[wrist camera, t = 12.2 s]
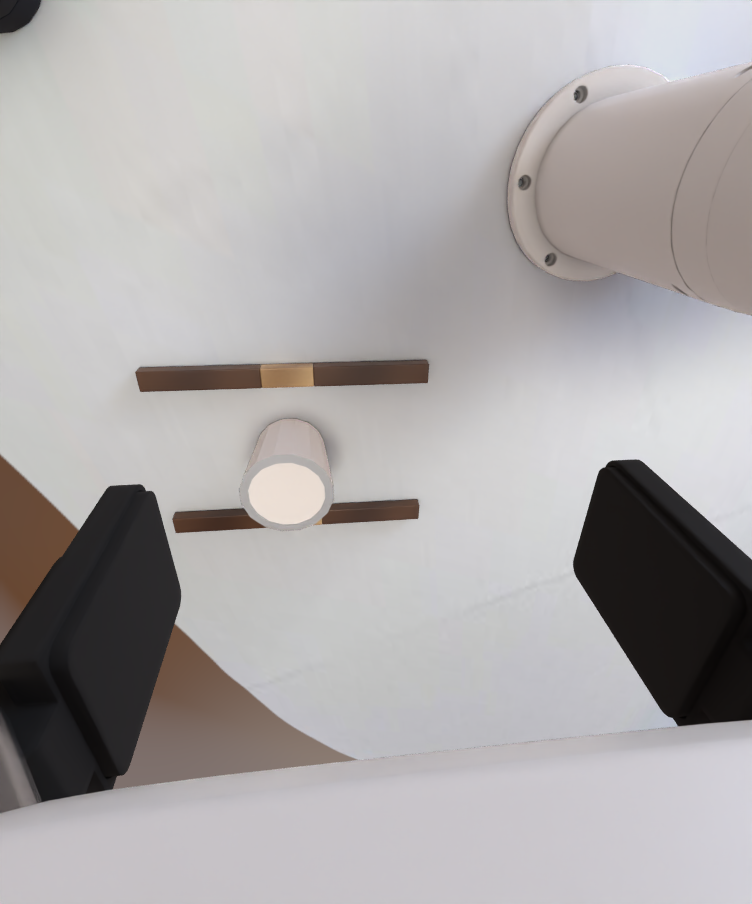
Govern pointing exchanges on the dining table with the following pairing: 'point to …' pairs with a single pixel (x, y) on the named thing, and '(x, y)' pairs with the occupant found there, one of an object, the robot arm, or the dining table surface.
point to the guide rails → (286, 377)
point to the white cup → (288, 477)
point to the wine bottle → (16, 13)
